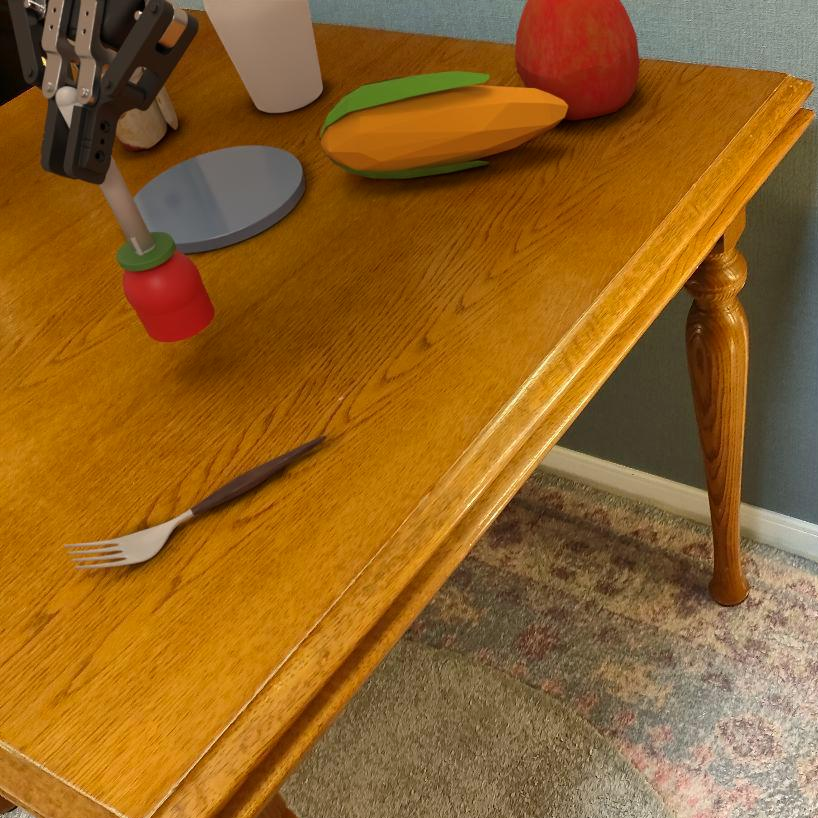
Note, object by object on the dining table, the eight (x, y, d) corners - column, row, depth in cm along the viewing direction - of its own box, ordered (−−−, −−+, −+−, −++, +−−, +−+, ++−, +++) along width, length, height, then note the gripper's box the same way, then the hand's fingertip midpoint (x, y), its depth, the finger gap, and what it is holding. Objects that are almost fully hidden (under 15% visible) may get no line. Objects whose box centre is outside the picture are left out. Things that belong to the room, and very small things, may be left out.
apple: (500, 114, 87) (477, -15, 79) (585, 65, 90) (571, -62, 82) (582, 146, 81) (565, 11, 73) (669, 93, 84) (662, -42, 77)
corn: (312, 69, 80) (560, 29, 78) (341, 154, 86) (572, 120, 84) (299, 119, 75) (562, 79, 73) (331, 206, 81) (575, 171, 79)
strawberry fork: (137, 347, 65) (6, 114, 53) (156, 303, 68) (36, 74, 56) (207, 339, 64) (91, 102, 53) (223, 294, 67) (117, 62, 56)
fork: (338, 453, 61) (328, 429, 59) (93, 592, 56) (76, 569, 55) (319, 432, 62) (309, 408, 61) (80, 565, 58) (62, 543, 56)
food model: (120, 122, 97) (8, -111, 83) (187, 106, 98) (87, -130, 83) (109, 169, 91) (-14, -74, 76) (181, 153, 91) (72, -94, 76)
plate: (109, 264, 80) (103, 254, 79) (157, 168, 90) (152, 158, 89) (289, 240, 78) (285, 229, 77) (318, 145, 88) (315, 134, 87)
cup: (245, 129, 92) (192, -8, 83) (242, 89, 98) (192, -43, 89) (340, 105, 93) (297, -35, 84) (331, 66, 99) (290, -68, 90)
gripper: (270, -110, 54) (207, 214, 57) (101, -115, 60) (52, 179, 63) (159, -196, 47) (95, 176, 50) (-18, -192, 53) (-67, 141, 56)
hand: (71, 176), depth 56 cm, fingers closed on strawberry fork, 1 cm apart
